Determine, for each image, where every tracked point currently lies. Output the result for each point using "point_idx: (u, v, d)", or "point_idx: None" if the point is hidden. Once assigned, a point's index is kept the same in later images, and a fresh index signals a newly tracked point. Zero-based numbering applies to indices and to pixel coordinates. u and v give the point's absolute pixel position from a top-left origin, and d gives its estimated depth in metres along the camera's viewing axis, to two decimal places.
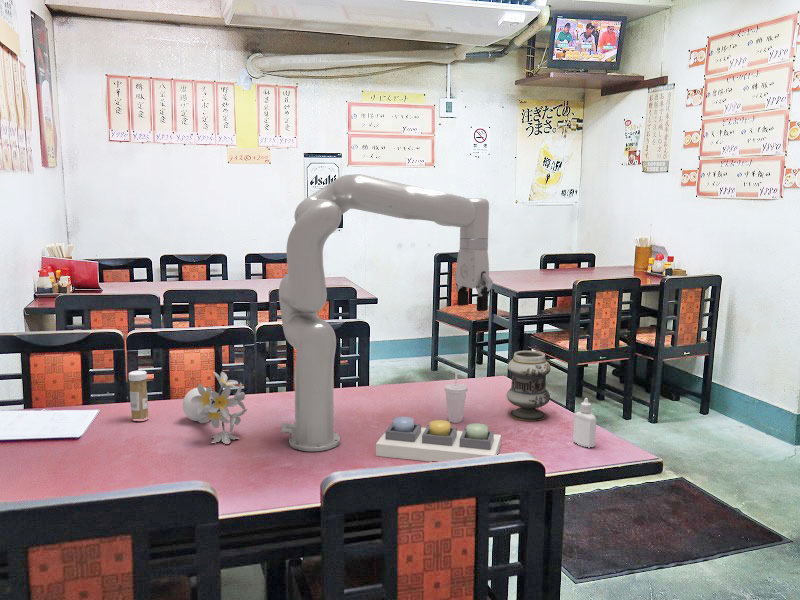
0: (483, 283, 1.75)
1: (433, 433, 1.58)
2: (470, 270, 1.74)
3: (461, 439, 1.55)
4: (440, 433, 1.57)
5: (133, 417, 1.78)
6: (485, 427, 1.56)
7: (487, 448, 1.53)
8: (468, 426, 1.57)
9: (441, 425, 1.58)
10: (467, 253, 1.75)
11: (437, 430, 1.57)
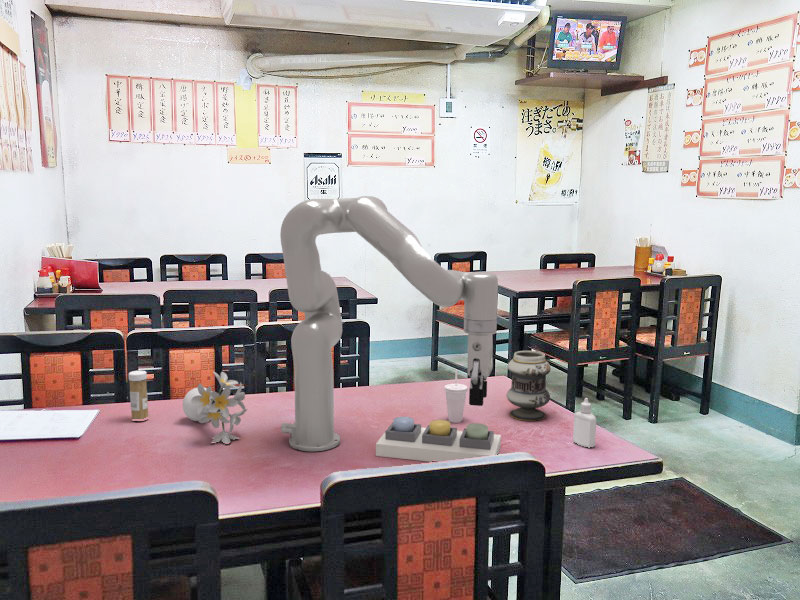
0: None
1: (433, 433, 1.58)
2: (492, 350, 1.56)
3: (461, 439, 1.55)
4: (440, 433, 1.57)
5: (133, 417, 1.78)
6: (485, 427, 1.56)
7: (487, 448, 1.53)
8: (468, 426, 1.57)
9: (441, 425, 1.58)
10: None
11: (437, 430, 1.57)
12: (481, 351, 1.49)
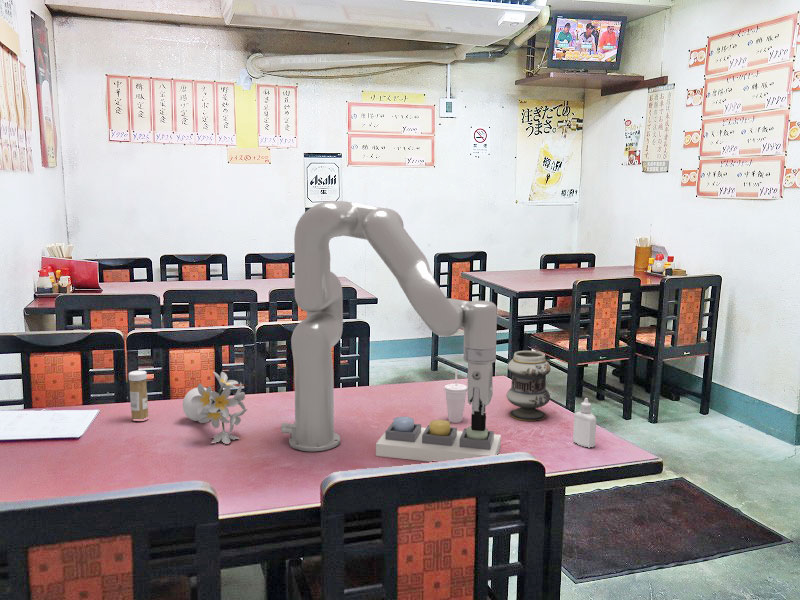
0: None
1: (433, 433, 1.58)
2: None
3: (461, 439, 1.55)
4: (440, 433, 1.57)
5: (133, 417, 1.78)
6: (485, 430, 1.56)
7: (487, 448, 1.53)
8: (468, 429, 1.57)
9: (441, 425, 1.58)
10: None
11: (437, 430, 1.57)
12: (481, 380, 1.50)
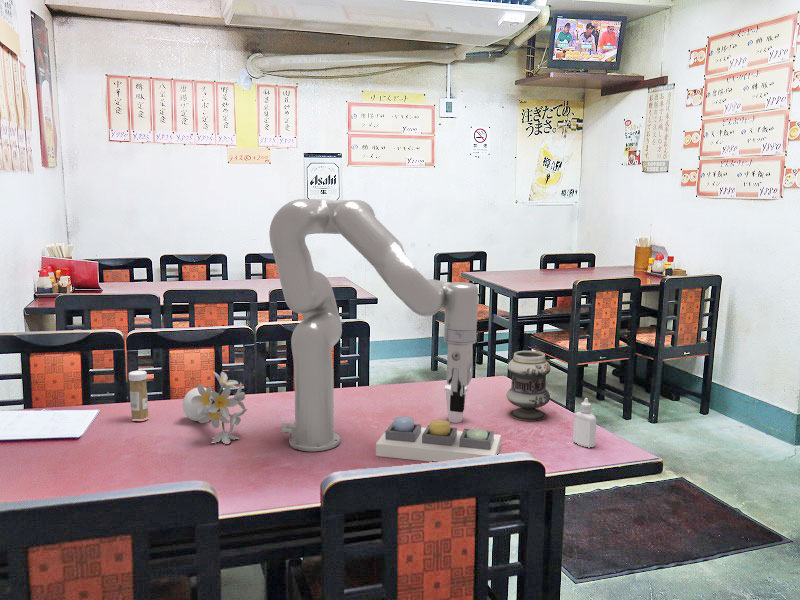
0: None
1: (433, 433, 1.58)
2: (472, 360, 1.58)
3: (461, 439, 1.55)
4: (440, 433, 1.57)
5: (133, 417, 1.78)
6: (485, 433, 1.56)
7: (487, 448, 1.53)
8: (468, 432, 1.57)
9: (441, 425, 1.58)
10: (471, 343, 1.55)
11: (437, 430, 1.57)
12: (460, 361, 1.50)
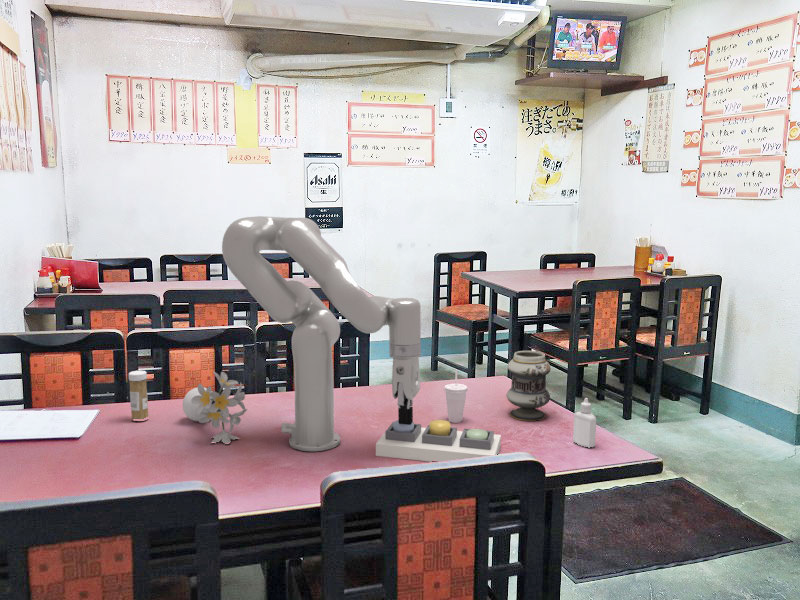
0: None
1: (433, 433, 1.58)
2: (418, 373, 1.62)
3: (461, 439, 1.55)
4: (440, 433, 1.57)
5: (133, 417, 1.78)
6: (485, 433, 1.56)
7: (487, 448, 1.53)
8: (468, 432, 1.57)
9: (441, 425, 1.58)
10: (416, 357, 1.59)
11: (437, 430, 1.57)
12: (404, 375, 1.54)
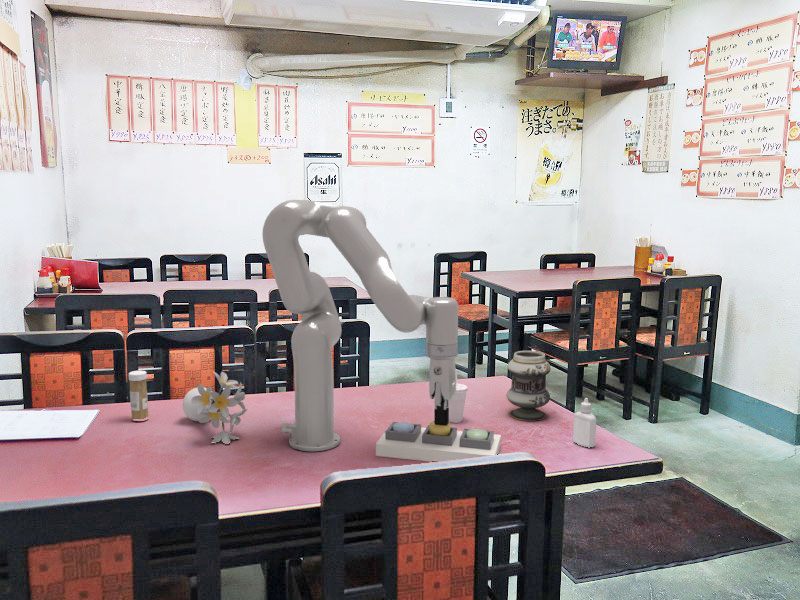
0: None
1: (433, 434, 1.58)
2: None
3: (461, 439, 1.55)
4: (440, 434, 1.57)
5: (133, 417, 1.78)
6: (485, 433, 1.56)
7: (487, 448, 1.53)
8: (468, 432, 1.57)
9: (441, 426, 1.58)
10: (453, 357, 1.57)
11: (437, 431, 1.57)
12: (442, 375, 1.52)
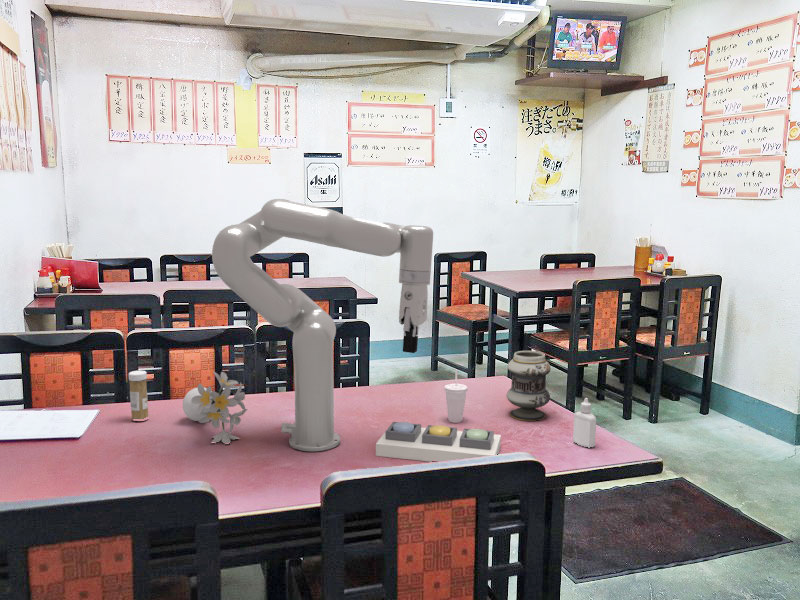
0: None
1: None
2: (426, 303, 1.62)
3: (461, 439, 1.55)
4: None
5: (133, 417, 1.78)
6: (485, 433, 1.56)
7: (487, 448, 1.53)
8: (468, 432, 1.57)
9: (441, 431, 1.58)
10: (425, 286, 1.59)
11: None
12: (412, 300, 1.55)
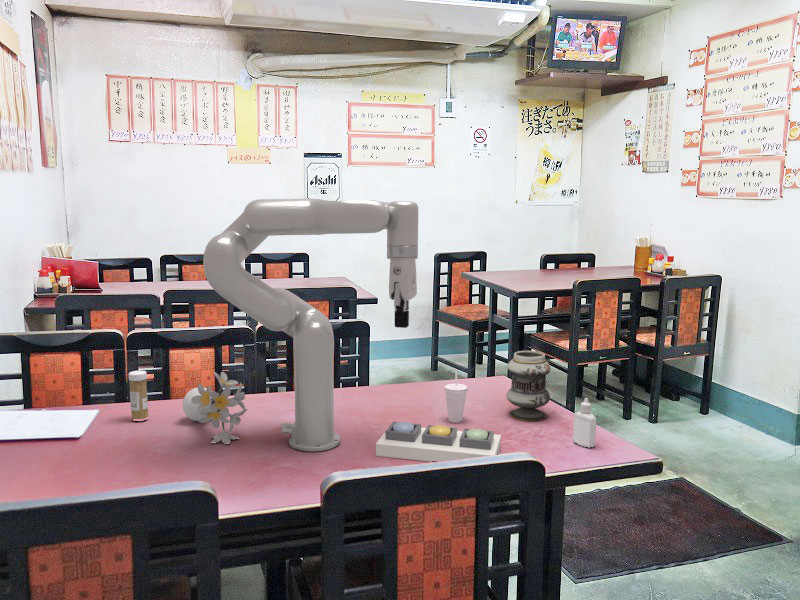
0: None
1: None
2: (415, 278, 1.64)
3: (461, 439, 1.55)
4: None
5: (133, 417, 1.78)
6: (485, 433, 1.56)
7: (487, 448, 1.53)
8: (468, 432, 1.57)
9: (441, 431, 1.58)
10: (414, 261, 1.61)
11: None
12: (401, 275, 1.56)
